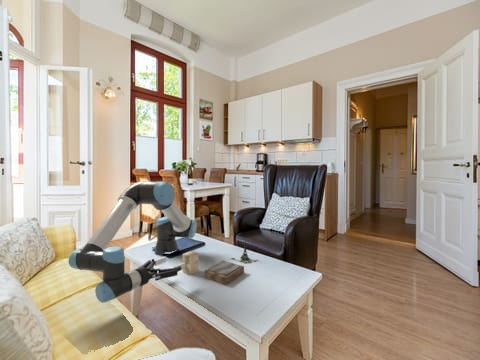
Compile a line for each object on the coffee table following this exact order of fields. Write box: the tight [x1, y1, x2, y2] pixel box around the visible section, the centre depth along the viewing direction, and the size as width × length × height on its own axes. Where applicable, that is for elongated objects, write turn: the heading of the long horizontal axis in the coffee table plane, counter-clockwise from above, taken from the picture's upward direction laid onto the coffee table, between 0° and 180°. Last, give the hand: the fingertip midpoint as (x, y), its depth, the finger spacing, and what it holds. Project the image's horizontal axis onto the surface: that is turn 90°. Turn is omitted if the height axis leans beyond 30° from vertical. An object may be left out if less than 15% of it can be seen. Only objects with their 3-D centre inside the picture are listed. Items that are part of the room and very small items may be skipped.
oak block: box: [182, 250, 199, 276], centre depth 128 cm, size 6×6×10 cm
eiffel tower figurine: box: [230, 240, 258, 265], centre depth 146 cm, size 15×10×13 cm
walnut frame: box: [204, 260, 245, 286], centre depth 124 cm, size 14×16×4 cm
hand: (175, 262), depth 118 cm, fingers open, 13 cm apart
